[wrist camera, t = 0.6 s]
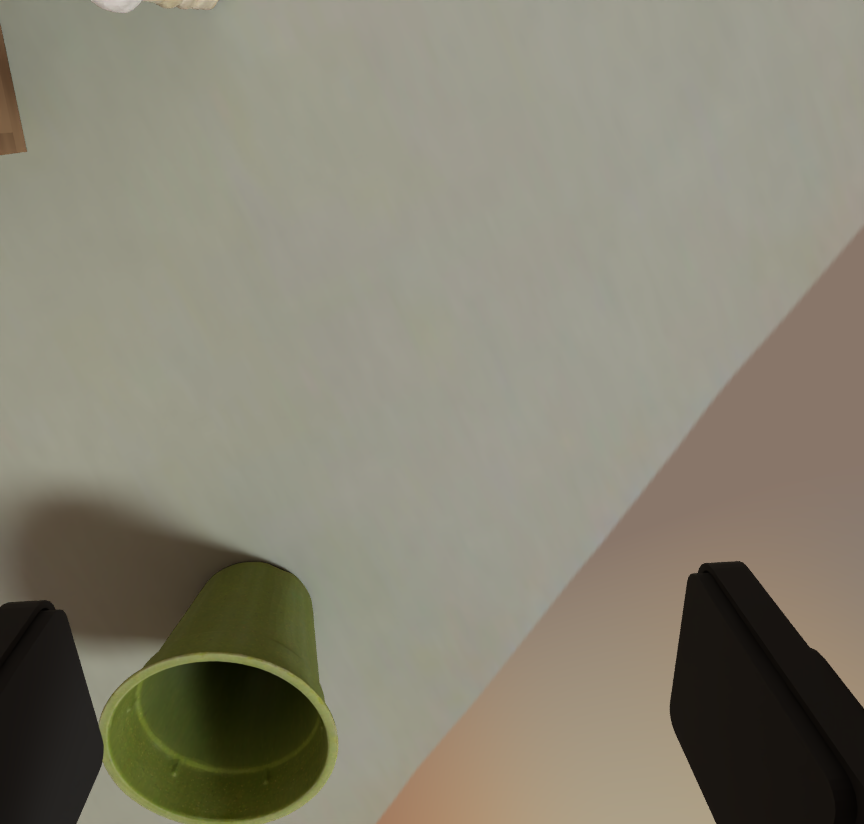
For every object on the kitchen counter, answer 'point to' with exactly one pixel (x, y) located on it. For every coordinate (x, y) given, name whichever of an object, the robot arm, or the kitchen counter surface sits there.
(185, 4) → the storage basket
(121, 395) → the kitchen counter surface
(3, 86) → the walnut box
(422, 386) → the kitchen counter surface
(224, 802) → the plant pot
